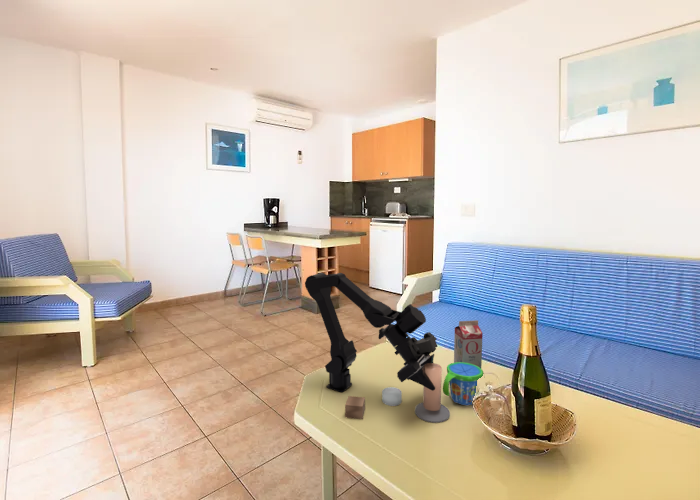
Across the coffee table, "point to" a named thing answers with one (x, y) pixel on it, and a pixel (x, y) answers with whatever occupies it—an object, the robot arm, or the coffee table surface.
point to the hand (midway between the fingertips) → (437, 385)
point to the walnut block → (355, 407)
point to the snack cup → (462, 382)
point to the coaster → (432, 414)
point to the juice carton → (468, 343)
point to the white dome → (391, 396)
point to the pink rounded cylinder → (434, 397)
